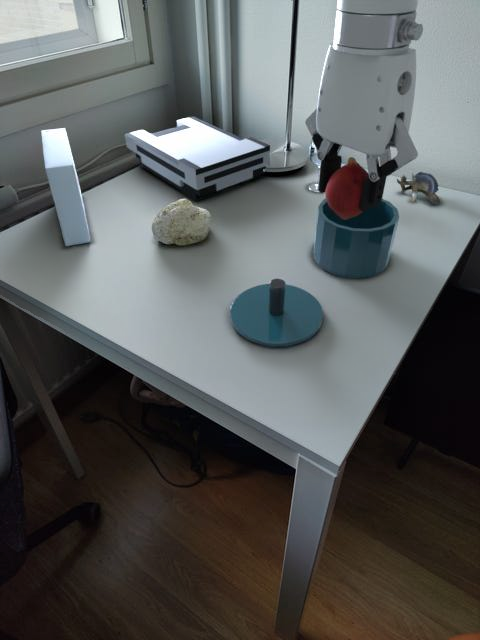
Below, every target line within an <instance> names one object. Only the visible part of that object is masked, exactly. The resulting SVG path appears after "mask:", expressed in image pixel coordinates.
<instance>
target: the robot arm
mask: <svg viewBox="0 0 480 640" xmlns="http://www.w3.org/2000/svg"><path fill="white" fill-rule="evenodd" d="M336 2H337V3H336V12H335V21H334V22H335V23H334V34H333V42H331V43H330V44H329V47H328V50H327V53H326V56H325V61H324V65H323V68H322V69H323V70H322V73H321V78H320V85H319V91H318V98H317V107H316V108H315V110H314V111H313V112H312V113H311V114H310V115H309V116H308V117H307V118H306V119H305V121H304V122H305V126H306V128H307V130H308V131H309V135H310V136H311V139H312V140H313V142H314V144H315V146H316V148H317V150H318V152H317V157H318V159H319V160H320V161H321V168H320V178H319V188H318V191H319V192H318V193H321V194H323V193H324V194H325V190H326V186H327V184H328V181H329V179H330V177H331V176H332V175H333V173H335V172H336V171H337V170H338V169H340V168H341V167H342V161H343V159H342V157H343V156H342V155H339V154H340V151H341V149H342V147H345V148H348V149H350V150H353V151H356V152H359V153H362V154H365V159H366V165H367V172H368V174H369V178H367V179H365V180H364V182H363V188H362V194H361V200H360V206H359V209H360V211H362V212H366V211H368V210H370V209H372V208H374V207H376V206H378V205H379V204H380V202H381V200H382V199H383V196H384V191H385V186H386V182H387V177H388V176H391V175H392V174H394V173H395V172H396V171H398V170H400V169H401V168H402V167H404V166H406V165H408V164H409V163H411V162H412V161H414V160H416V159H417V158H418V156H419V153H418V150H417V148H416V147H415V144H414V142H413V139H412V138H411V135H410V127H411V121H412V116H413V110H414V109H413V107H414V102H415V93H416V92H415V91H416V82H417V81H416V80H417V50H416V49H415V48H412V47H411V48H410V44H411V43H412V41H419V39H421V37H422V36H423V35H422V34H423V31H424V26H423V24H422V23H417V22H416V17H417V8H418V3H419V0H337V1H336ZM312 136H313V137H312ZM391 148H394V149H396V152H397V153H396V156H394V157H393V158H392V153H391V152H392V151H391Z"/></svg>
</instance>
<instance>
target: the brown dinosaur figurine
mask: <svg viewBox="0 0 480 640" xmlns="http://www.w3.org/2000/svg"><path fill="white" fill-rule="evenodd" d="M409 173H410V175H411V179H412V180H408V178H407V177H406V175H404V174H402V176H401V178H400V179H398V178H396V182H397V184H398V185H400V188H401V191H400V193H401V194H404V193H405V192H406V191H410V190H411V195H412V201H411V202H412V203H414V202H415V201H416V199H417V197H418V193H422V194H424V195H425V197H426V198H428V199H429V202H431V204H433V205H435V206H437V205H438V206H439V205H440V204H441V200H440V197H438V195H437V194H436V193H438V192H439V183H438V180H437V179H436V178H435V176H434V175H433V174H431V173H427V172H423V171H420V172H417V173H415V174H414V173H413V171H412V169H410V170H409Z"/></svg>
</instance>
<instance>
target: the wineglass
mask: <svg viewBox="0 0 480 640" xmlns="http://www.w3.org/2000/svg"><path fill="white" fill-rule="evenodd" d="M312 137H313V136H311V140H310V143H309V147H308V158H309V161H310V162H311V163H313V164H314V165H316V166H318V167H317V173H318V175H317V176H318V177H317V183H312V184H310V185H308V189H309V190H310V192H314V193H320V192H319V191H318V188H319V178H320V168H321V161H320V160H319V159H318V157H317V152H318V150H317V148H316V146H315V144H314V142H313V140H312Z"/></svg>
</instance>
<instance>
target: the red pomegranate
mask: <svg viewBox="0 0 480 640" xmlns="http://www.w3.org/2000/svg"><path fill="white" fill-rule="evenodd" d="M367 178H369V173H368V170H366V169H365V168H364V167H362V165H361V164H359V162H357V159H356V158H355V157H353V156H349V158H348V159H347V164H345V165H341V168H340V169H338V170H337V171H336V172H335V173H333V175H332V176H331V177H330V179H329V181H328V184H327V186H326V190H325V192H324V196H325V199H326V200H327V203H328V205H329V207H330V208H331V209H332V210H333V211H334V212H335V213H336V214H337V215H338V216H339V217H340V218H342V219H344V220H346V219H349V218H352V217H355V216H357V215H359V214H360V213H362V211H360V209H359V206H360V200H361V194H362V188H363V182H364V180H365V179H367Z"/></svg>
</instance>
